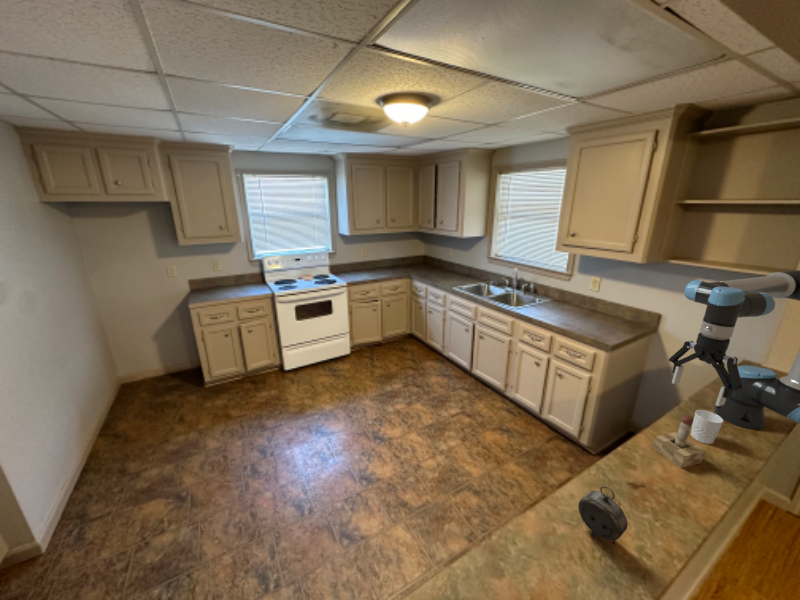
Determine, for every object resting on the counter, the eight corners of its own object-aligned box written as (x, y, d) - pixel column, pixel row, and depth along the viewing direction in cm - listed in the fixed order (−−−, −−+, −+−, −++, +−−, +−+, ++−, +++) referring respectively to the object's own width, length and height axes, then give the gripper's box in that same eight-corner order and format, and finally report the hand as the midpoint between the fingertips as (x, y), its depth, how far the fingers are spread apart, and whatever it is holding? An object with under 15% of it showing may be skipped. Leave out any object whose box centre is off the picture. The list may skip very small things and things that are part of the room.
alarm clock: (622, 544, 89) (636, 497, 84) (613, 556, 86) (626, 508, 81) (581, 513, 97) (591, 469, 92) (571, 523, 94) (581, 478, 89)
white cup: (720, 446, 124) (728, 424, 121) (696, 443, 126) (704, 421, 123) (706, 432, 131) (714, 411, 128) (683, 429, 133) (690, 408, 130)
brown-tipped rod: (674, 451, 121) (686, 414, 117) (683, 457, 119) (695, 419, 114) (669, 453, 121) (680, 415, 116) (677, 458, 118) (689, 420, 113)
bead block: (672, 442, 126) (675, 431, 124) (701, 462, 117) (705, 450, 115) (652, 447, 123) (655, 436, 122) (680, 468, 114) (684, 456, 112)
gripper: (666, 322, 116) (652, 376, 123) (755, 353, 93) (732, 417, 100) (681, 320, 118) (667, 373, 125) (773, 350, 95) (749, 413, 102)
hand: (696, 393), depth 112 cm, fingers open, 13 cm apart
